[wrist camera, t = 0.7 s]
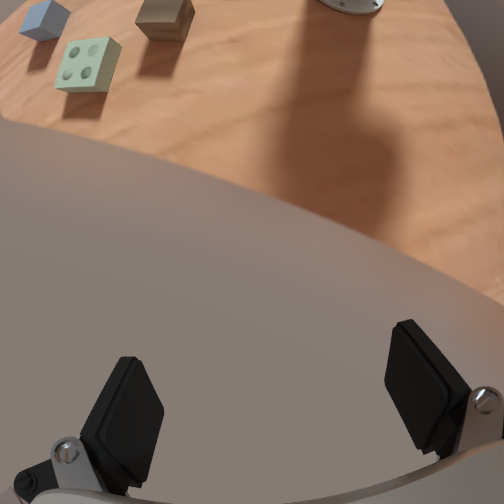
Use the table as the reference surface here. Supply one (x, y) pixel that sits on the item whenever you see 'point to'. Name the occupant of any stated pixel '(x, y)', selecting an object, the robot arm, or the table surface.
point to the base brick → (88, 65)
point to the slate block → (45, 21)
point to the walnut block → (165, 19)
